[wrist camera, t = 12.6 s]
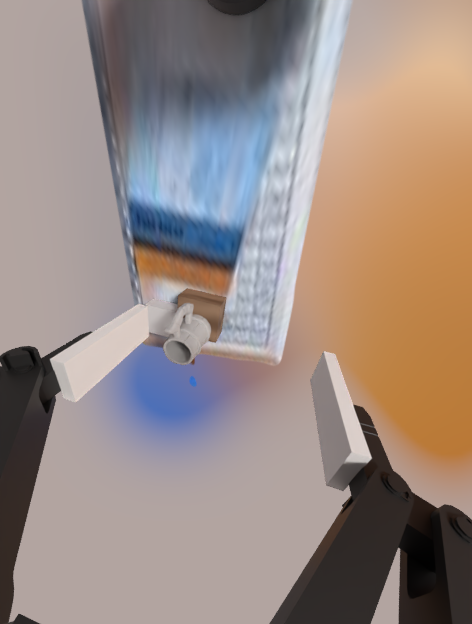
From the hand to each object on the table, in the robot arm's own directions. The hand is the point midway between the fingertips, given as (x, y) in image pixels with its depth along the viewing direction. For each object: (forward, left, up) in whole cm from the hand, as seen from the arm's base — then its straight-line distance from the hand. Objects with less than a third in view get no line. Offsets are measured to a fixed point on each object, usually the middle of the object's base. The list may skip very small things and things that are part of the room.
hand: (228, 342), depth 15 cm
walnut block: (+16, -12, -32) cm, 37 cm away
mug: (+16, -12, -27) cm, 34 cm away
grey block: (+20, -22, -32) cm, 43 cm away
